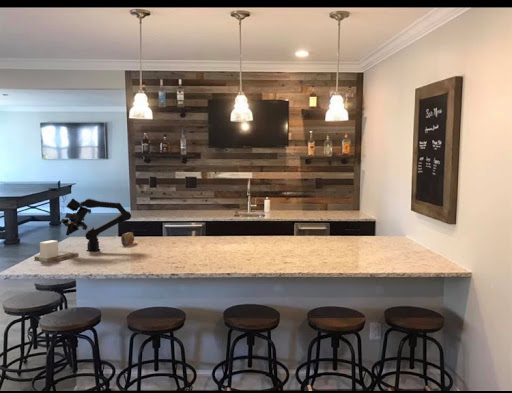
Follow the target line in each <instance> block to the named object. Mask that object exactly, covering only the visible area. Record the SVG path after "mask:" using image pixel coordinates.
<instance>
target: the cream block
mask: <svg viewBox="0 0 512 393" xmlns="http://www.w3.org/2000/svg"><path fill="white" fill-rule="evenodd" d="M58 251H59V240H51V239H50V240H46V241H40V242H39V255H40V257H42V258H51V257H55V256H59V255H58Z"/></svg>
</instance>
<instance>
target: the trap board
mask: <svg viewBox="0 0 512 393" xmlns="http://www.w3.org/2000/svg"><path fill="white" fill-rule="evenodd" d="M58 255H59V256H56V257H51V258H47V262H46V263H56V262H60V261H64V260H68V259H71V258H72V259H73V258H76V257H79V252H74V251H68V250H58ZM33 257H34V260H35V261H39V257H40V254H39V255H35V256H33Z"/></svg>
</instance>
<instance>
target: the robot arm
mask: <svg viewBox="0 0 512 393" xmlns="http://www.w3.org/2000/svg"><path fill="white" fill-rule="evenodd" d="M65 207H66V208H68V209H69V210H71V211H72V212H74V213H70V212H66V213H65V216H64V218H62V219H61V220H60V223H62V225H63V226H65V227H67V229H66V233H65V235H66V236H70V235H71V234H73V233H75V232H77V231H79V230H80V228H82V230H83V231H85V234H84V235H85V239H86V240H88V241H87V244H86V246H87V247H86V248H87V249H86V252H97V251H100V250H101V249H100V243H99V242H100V241H99V238H98V236H99V235H100V234H101V233H103V232H104V231H107V230H108V229H111V228H112V227H114V226H116V225H118V224H119V223H120V224H121V223H124V222H126V221H129V220H130V219H131V218H132V214H131V213H130V211H128V210H126V209H125V208H124V207H123V205H122V204H121V202H112V201H101V200H96V199H93V198H91V197H89V198H85V199H84V200H83V201H80V202H79V201H78V200H76V199H75V198H71V200H70V201H69V202H68V203H67V204H66V206H65ZM92 208H104V209H105V208H106V209H107V208H109V209H117V211H119V214H118V215H117V216H116V217H114V218H112V219H110V220H108V221H107V222H105V223H103V224H101V225H99V226H98V227H94V226H92V227H91V228H90V227H89V228H88V225H87V224H86V223H85V222H84V221H85V217H86V215H87V214H89V215H91V213H92V210H91V209H92ZM76 211H77V212H76Z"/></svg>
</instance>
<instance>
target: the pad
mask: <svg viewBox="0 0 512 393" xmlns="http://www.w3.org/2000/svg"><path fill="white" fill-rule="evenodd" d="M55 257H56V256H55ZM38 261H40V262H45V263H48V262H47V258H42V257H39V260H38Z"/></svg>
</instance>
